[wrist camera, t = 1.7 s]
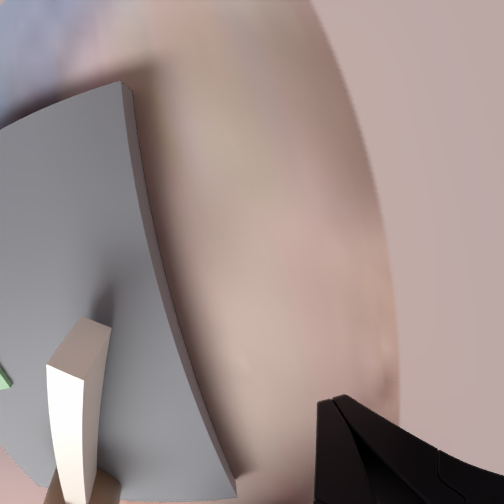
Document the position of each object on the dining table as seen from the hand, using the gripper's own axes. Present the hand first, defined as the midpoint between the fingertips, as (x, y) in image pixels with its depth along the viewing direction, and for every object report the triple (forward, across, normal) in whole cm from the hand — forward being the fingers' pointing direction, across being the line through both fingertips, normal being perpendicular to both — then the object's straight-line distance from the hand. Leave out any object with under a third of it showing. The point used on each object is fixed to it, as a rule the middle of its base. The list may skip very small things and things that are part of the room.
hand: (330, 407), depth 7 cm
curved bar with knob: (+4, +11, +4) cm, 12 cm away
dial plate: (+5, +12, +1) cm, 14 cm away
